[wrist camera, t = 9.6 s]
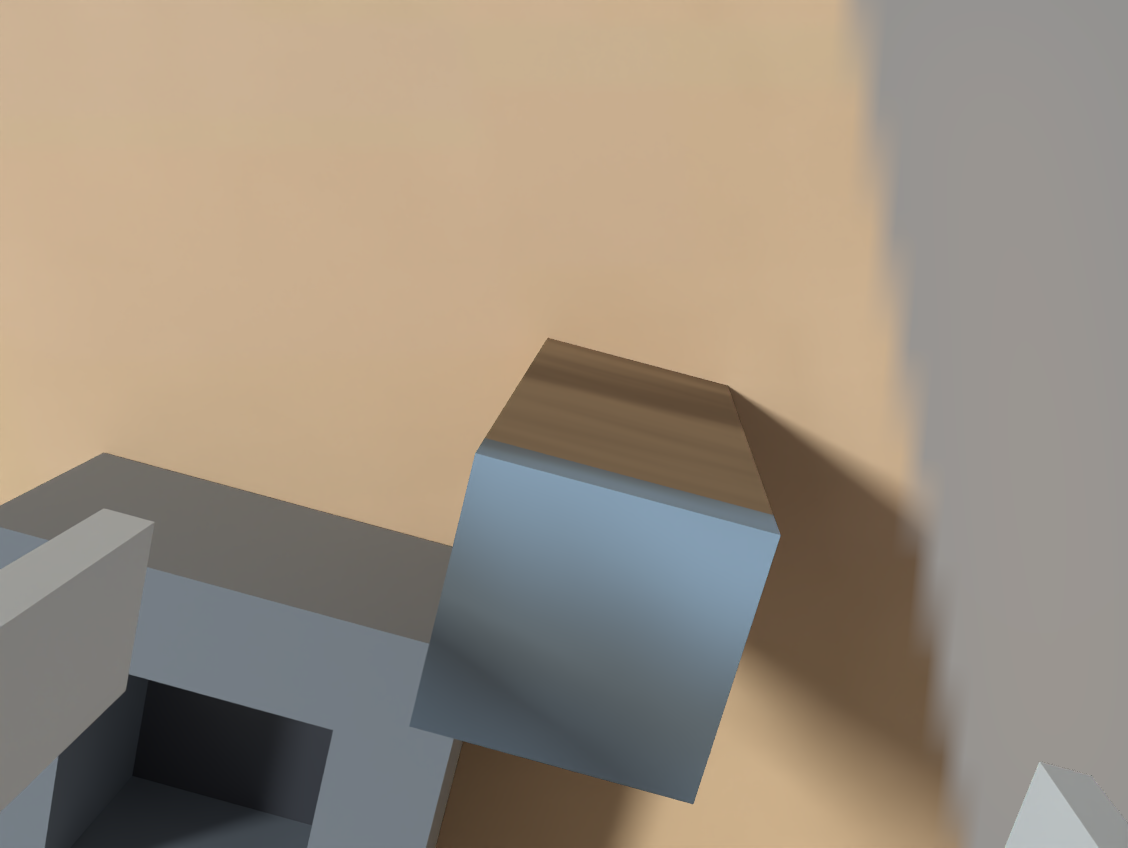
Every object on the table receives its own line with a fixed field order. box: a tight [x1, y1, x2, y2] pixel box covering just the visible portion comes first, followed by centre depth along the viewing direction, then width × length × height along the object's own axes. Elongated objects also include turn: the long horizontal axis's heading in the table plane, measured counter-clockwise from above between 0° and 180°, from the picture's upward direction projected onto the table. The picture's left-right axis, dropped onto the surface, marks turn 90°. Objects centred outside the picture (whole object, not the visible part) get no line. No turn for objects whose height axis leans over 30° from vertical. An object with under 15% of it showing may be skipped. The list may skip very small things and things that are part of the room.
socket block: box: [0, 453, 463, 848], centre depth 29 cm, size 15×12×6 cm
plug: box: [409, 338, 781, 804], centre depth 23 cm, size 5×5×12 cm
